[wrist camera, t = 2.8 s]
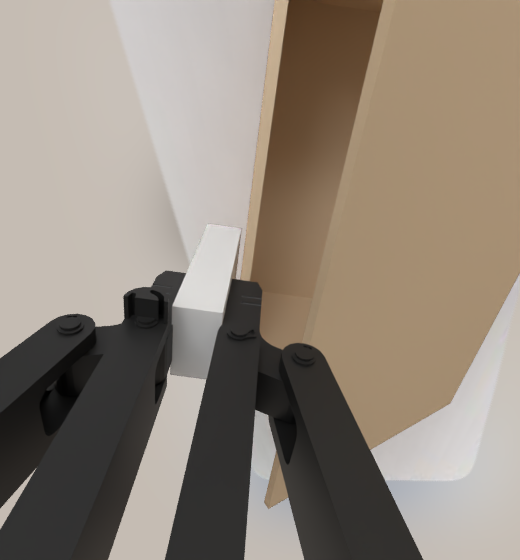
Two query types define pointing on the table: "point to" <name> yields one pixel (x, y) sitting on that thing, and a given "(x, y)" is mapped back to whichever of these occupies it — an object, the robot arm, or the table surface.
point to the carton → (303, 151)
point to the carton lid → (421, 214)
